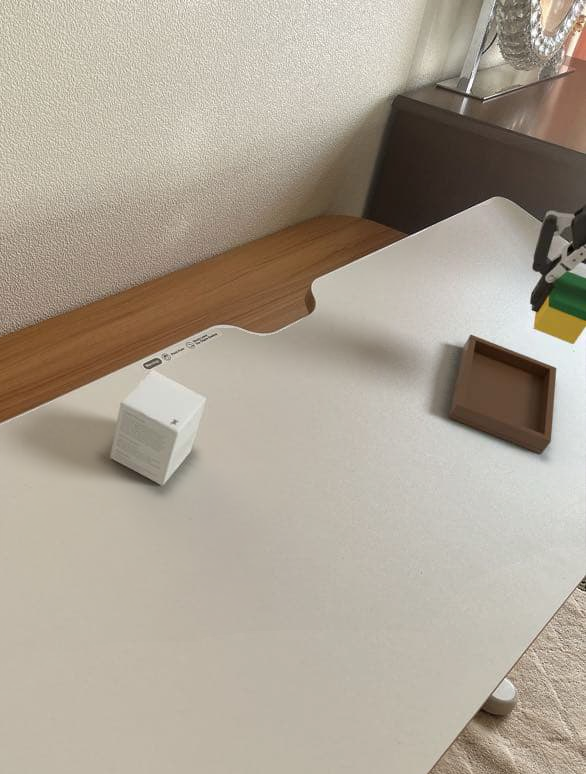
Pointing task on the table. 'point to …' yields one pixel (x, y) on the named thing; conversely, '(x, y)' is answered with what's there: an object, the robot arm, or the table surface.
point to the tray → (504, 394)
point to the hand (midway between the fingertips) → (557, 315)
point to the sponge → (564, 309)
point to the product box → (156, 427)
